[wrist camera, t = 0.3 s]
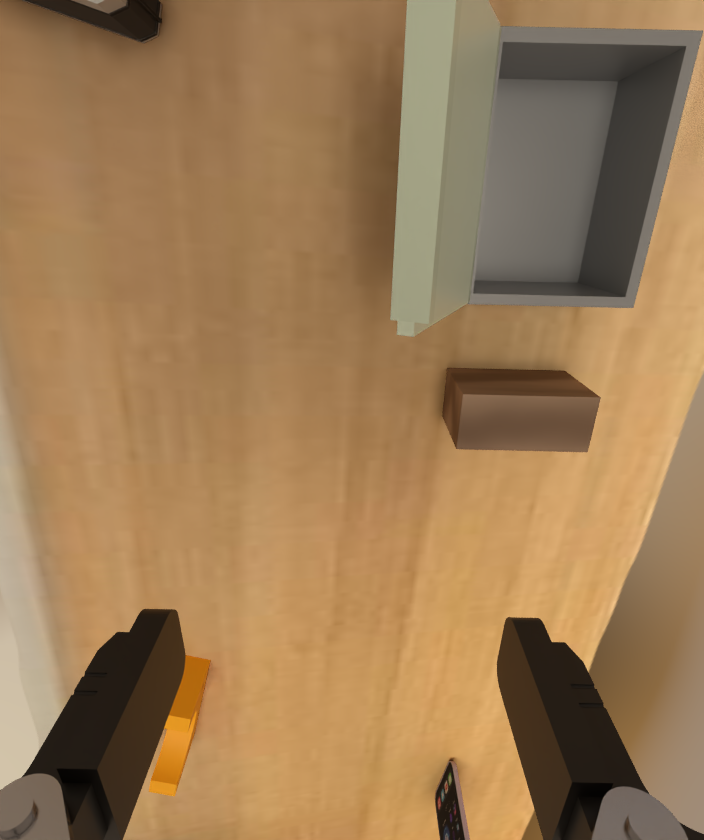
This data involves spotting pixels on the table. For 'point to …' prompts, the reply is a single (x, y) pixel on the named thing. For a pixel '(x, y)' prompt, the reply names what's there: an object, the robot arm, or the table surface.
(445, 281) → the lid
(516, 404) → the brown rectangular block
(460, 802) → the smartphone
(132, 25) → the camera
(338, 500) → the table surface
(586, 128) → the box
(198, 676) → the pipe clamp
